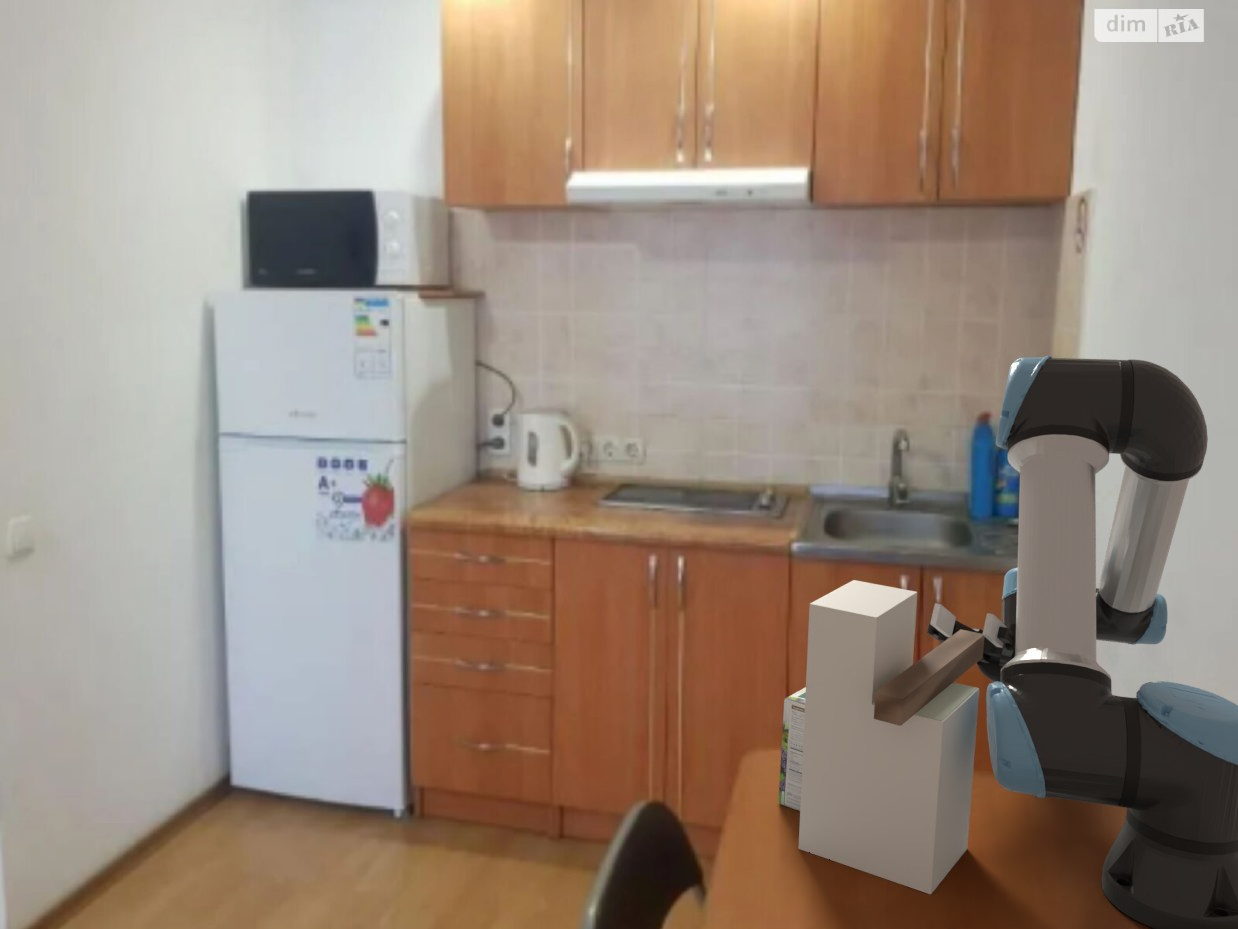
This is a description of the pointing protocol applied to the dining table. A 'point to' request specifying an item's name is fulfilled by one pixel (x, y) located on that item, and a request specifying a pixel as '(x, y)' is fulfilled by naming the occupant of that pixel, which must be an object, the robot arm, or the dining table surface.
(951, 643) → the walnut bar
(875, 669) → the step stand
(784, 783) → the syrup box
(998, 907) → the dining table surface
